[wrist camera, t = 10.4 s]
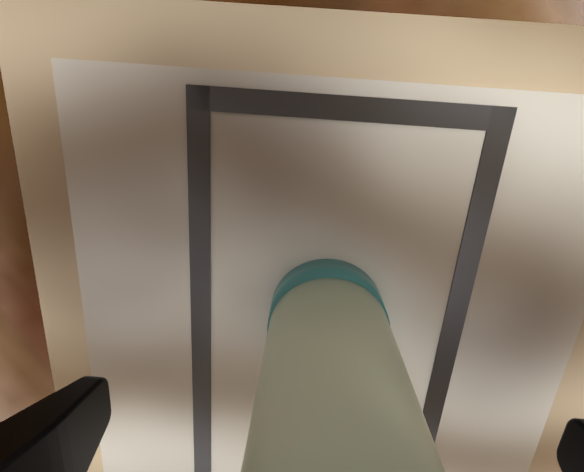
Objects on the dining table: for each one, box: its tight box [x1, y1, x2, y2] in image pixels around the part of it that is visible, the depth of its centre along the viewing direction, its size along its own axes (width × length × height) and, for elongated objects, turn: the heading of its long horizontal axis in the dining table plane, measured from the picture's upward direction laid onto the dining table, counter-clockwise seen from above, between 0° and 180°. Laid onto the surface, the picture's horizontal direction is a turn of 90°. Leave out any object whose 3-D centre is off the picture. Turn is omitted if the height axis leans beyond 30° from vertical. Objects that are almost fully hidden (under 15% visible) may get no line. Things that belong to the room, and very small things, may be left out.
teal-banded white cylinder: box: [241, 259, 445, 472], centre depth 7 cm, size 3×3×9 cm
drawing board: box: [0, 0, 584, 472], centre depth 13 cm, size 24×18×1 cm
